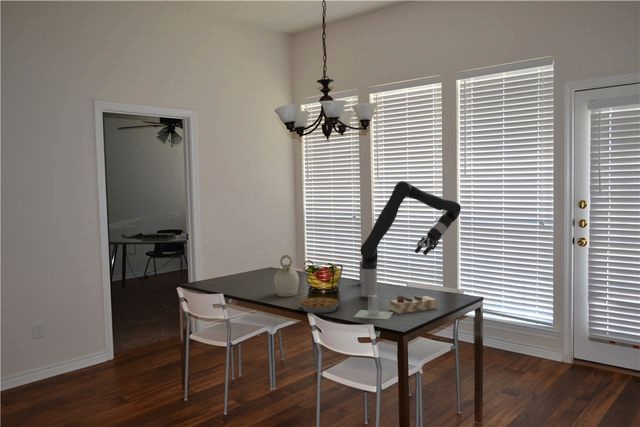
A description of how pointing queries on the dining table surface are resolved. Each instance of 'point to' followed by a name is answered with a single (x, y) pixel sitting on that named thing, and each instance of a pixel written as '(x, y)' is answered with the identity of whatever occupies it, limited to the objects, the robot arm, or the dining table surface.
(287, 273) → the jug
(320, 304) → the pie
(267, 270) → the dining table surface
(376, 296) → the lever cap
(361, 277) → the skincare box
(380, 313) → the mat
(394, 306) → the beige notched block
